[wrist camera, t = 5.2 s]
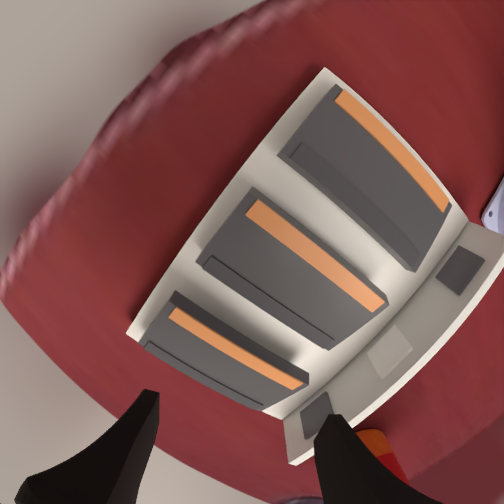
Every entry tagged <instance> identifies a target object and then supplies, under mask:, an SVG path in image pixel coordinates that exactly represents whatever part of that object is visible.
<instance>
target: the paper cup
mask: <svg viewBox="0 0 504 504" xmlns="http://www.w3.org/2000/svg"><path fill="white" fill-rule="evenodd" d="M355 433H356V434H357V435H358V437H359V438H360V439H361V440H362V442H363V443H364V444H365V445H366V446H367V448H368V449H369V450H370V451H371V452H372V453H373V454H374V456H375V457H376V458H377V459H378V460H379V461H380V462H381V463H382V464H383V465H384V466H385V467H386V468H387V469H389V470H390V471H391V472H392V473H393V474H394V475H396V476H397V477H398V478H399V479H401V480H402V481H403V482H405V483H406V484H407V485H409V486H410V484H409V482H408V480H407V478H406V476H405V474H404V472H403V470H402V468H401V466H400V464H399V462H398V460H397V458H396V456H395V454H394V452H393V450H392V448H391V447H390V445H389V443H388V441H387V439H386V437H385V436H384V434H383V433H382V431H380V430H378V429H365V430H361V431H358V432H355ZM410 487H411V486H410Z"/></svg>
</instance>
